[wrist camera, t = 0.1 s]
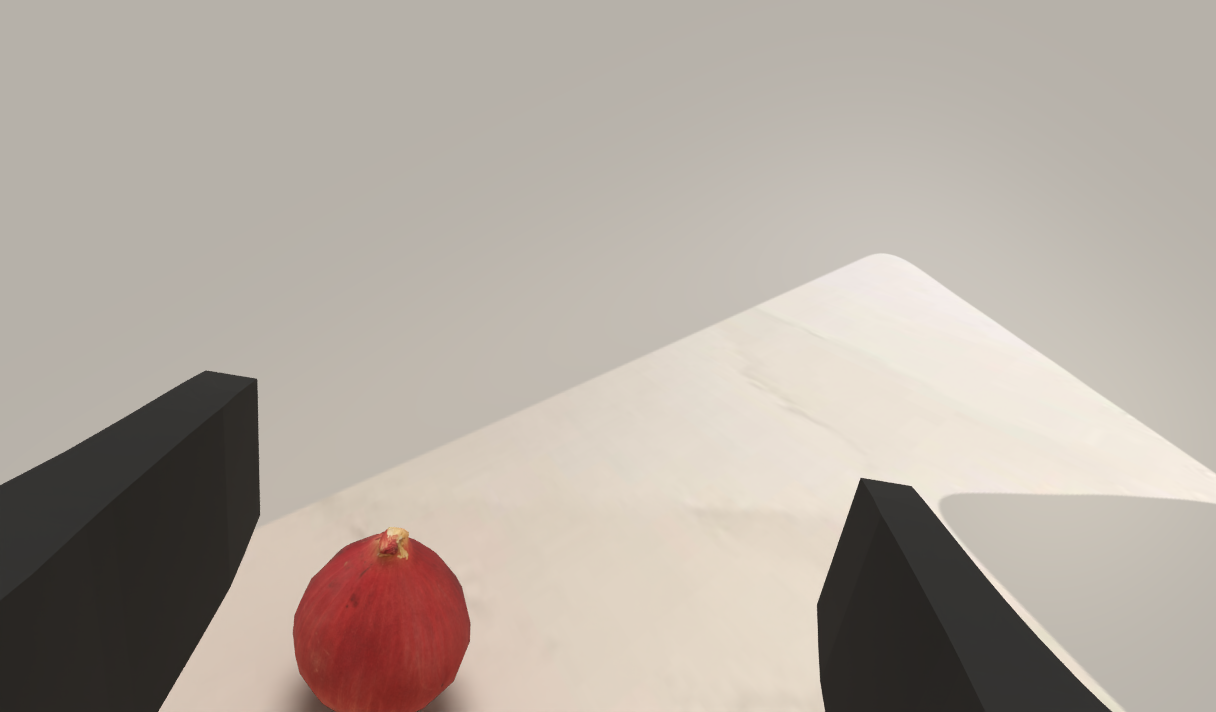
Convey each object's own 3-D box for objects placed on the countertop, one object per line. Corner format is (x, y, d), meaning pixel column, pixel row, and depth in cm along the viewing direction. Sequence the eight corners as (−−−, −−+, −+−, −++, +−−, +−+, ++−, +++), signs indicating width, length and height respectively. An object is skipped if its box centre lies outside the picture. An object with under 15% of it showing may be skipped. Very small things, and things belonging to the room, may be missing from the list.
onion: (262, 685, 37) (267, 500, 34) (406, 632, 41) (425, 459, 37) (336, 803, 33) (350, 608, 30) (488, 734, 37) (517, 552, 34)
